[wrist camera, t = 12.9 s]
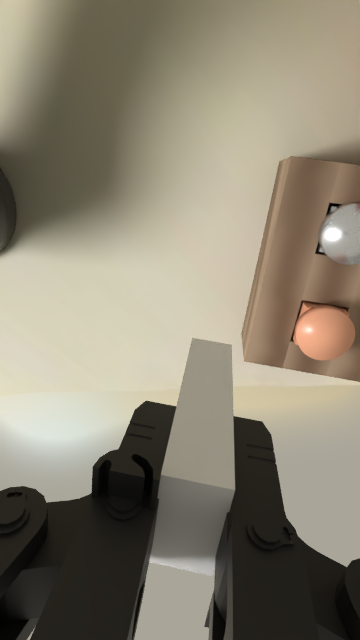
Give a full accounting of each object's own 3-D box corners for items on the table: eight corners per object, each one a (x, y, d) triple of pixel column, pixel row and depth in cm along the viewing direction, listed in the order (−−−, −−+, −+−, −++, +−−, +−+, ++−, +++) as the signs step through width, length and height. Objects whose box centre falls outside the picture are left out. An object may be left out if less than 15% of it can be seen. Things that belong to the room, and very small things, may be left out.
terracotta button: (280, 327, 43) (291, 355, 36) (292, 285, 40) (305, 305, 33) (325, 334, 42) (345, 364, 35) (339, 292, 40) (363, 315, 33)
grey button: (299, 246, 40) (315, 259, 33) (313, 196, 38) (332, 199, 31) (348, 254, 39) (374, 268, 32) (364, 203, 37) (395, 208, 30)
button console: (241, 333, 47) (244, 361, 40) (279, 161, 39) (291, 156, 31) (343, 351, 46) (365, 382, 39) (405, 178, 38) (448, 176, 30)
